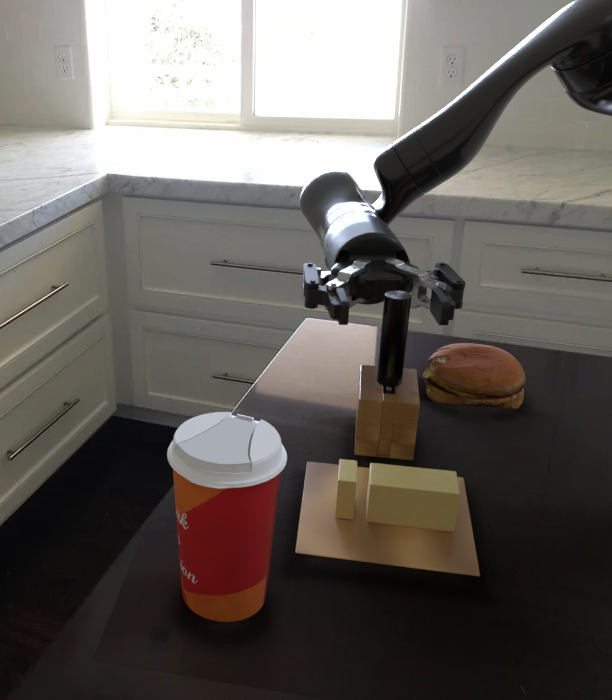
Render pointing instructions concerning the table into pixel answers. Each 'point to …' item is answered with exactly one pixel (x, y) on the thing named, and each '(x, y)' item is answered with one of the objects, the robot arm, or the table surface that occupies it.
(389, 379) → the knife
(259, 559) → the paper cup
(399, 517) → the butter
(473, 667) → the table surface
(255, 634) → the table surface
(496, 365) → the burger
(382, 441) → the knife block
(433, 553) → the board
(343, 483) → the butter pat
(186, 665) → the table surface
